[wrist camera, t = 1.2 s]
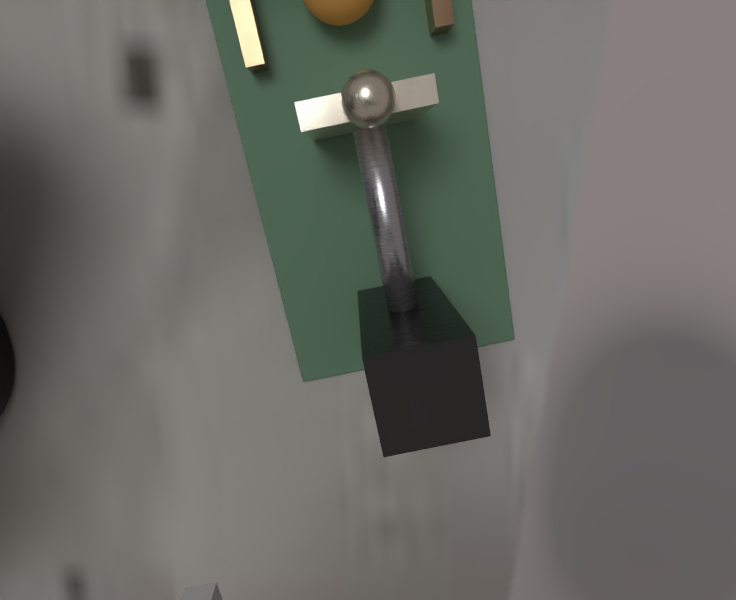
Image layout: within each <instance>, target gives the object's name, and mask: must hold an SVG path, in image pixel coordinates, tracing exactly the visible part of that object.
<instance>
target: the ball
mask: <svg viewBox="0 0 736 600" xmlns="http://www.w3.org/2000/svg"><path fill="white" fill-rule="evenodd" d="M303 2H304V4H305V6H306V7H307V9H308V10H309V11H310V12H311V13H312V14H313V15H314V16H315V17H316V18H318V19H319V20H321V21H323V22H324V23H327V24H330V25H336V26H341V25H347V24H351V23H353V22H355V21H357V20H358V19H360V18H361V17H362V16H363V15H364V14H365V13H366V12H367V11H368V9H369V8H370V6H371V5H372V3H373V0H303Z"/></svg>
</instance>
